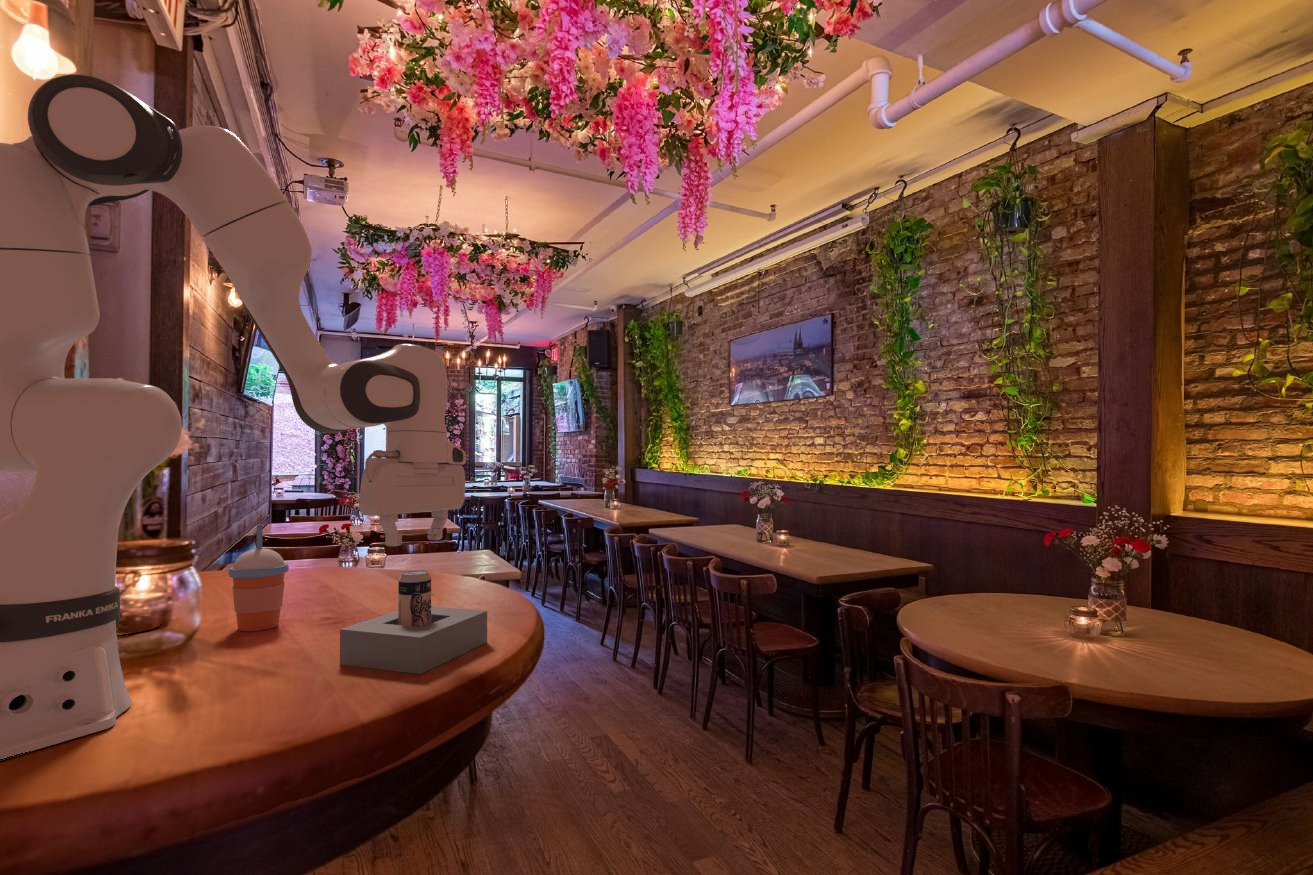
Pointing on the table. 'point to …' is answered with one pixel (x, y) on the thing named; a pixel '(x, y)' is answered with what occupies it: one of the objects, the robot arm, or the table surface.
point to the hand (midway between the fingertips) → (415, 542)
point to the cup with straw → (258, 587)
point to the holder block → (412, 640)
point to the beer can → (414, 598)
